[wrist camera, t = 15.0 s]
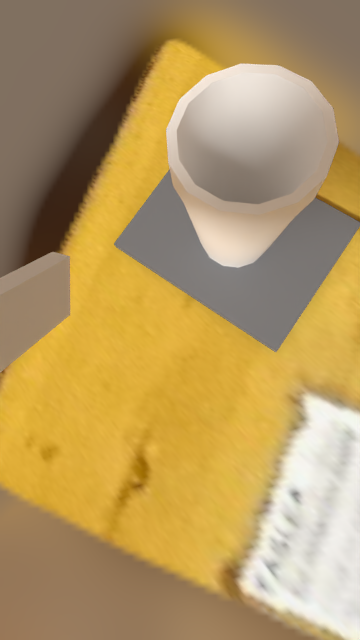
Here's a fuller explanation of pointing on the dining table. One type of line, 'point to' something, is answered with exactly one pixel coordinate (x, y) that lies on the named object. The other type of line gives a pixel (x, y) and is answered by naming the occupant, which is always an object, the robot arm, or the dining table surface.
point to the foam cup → (249, 156)
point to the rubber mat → (247, 281)
